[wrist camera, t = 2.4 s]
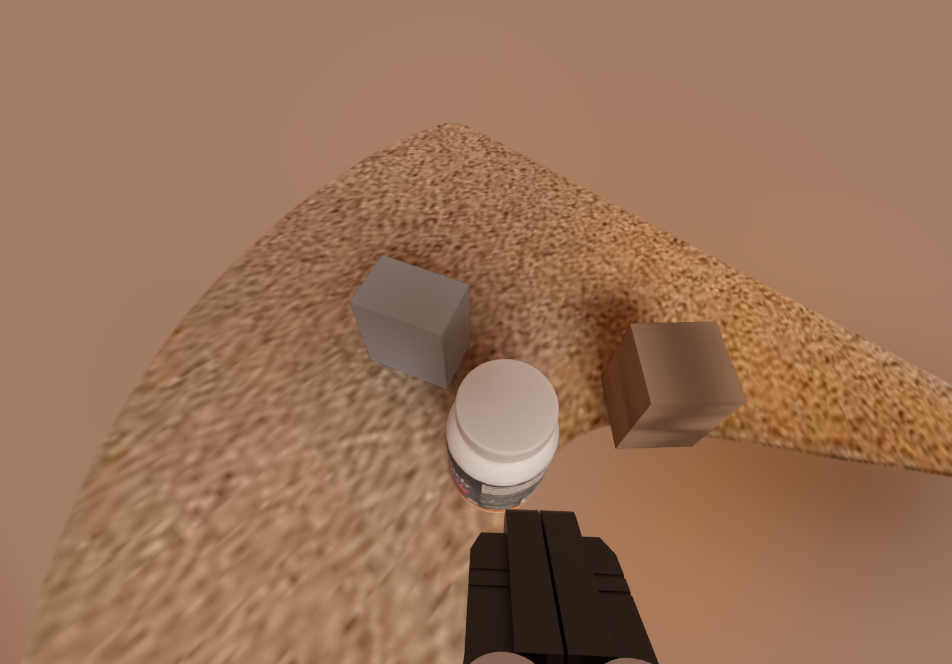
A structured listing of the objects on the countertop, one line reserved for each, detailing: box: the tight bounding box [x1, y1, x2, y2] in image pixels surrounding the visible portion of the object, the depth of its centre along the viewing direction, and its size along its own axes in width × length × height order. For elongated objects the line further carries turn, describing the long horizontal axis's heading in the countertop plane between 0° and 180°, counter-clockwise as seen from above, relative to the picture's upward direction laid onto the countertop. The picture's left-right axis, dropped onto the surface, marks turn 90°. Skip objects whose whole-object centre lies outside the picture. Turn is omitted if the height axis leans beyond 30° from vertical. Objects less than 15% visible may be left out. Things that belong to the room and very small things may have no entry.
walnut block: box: [601, 322, 747, 449], centre depth 28 cm, size 5×5×7 cm
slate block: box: [349, 255, 470, 390], centre depth 30 cm, size 6×4×7 cm, turn 67°
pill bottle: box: [446, 359, 559, 513], centre depth 25 cm, size 6×6×10 cm
